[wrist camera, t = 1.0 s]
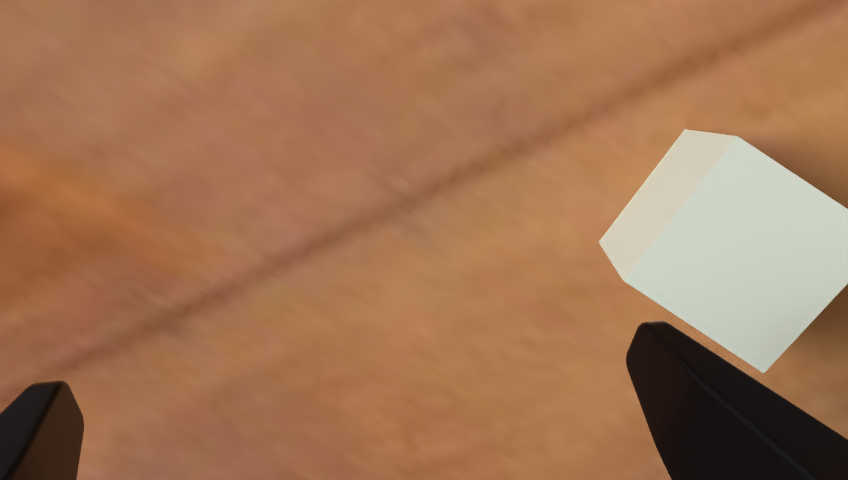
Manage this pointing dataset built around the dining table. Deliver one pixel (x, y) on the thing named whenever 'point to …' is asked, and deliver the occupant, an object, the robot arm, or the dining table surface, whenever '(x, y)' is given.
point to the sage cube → (732, 245)
